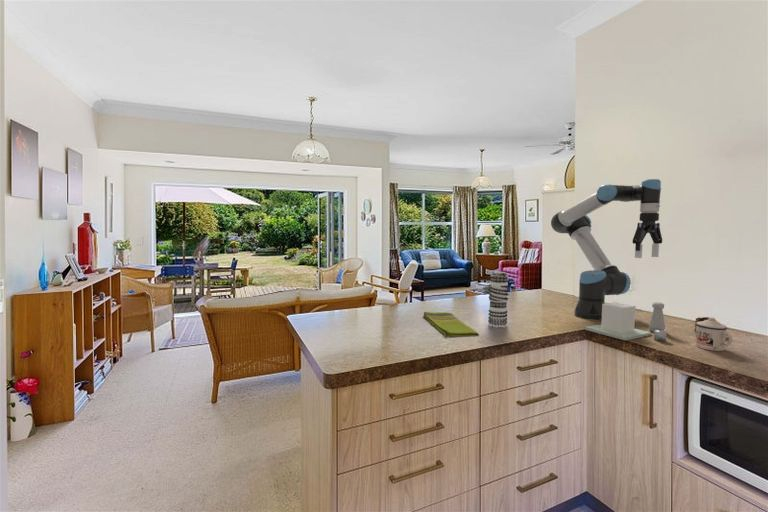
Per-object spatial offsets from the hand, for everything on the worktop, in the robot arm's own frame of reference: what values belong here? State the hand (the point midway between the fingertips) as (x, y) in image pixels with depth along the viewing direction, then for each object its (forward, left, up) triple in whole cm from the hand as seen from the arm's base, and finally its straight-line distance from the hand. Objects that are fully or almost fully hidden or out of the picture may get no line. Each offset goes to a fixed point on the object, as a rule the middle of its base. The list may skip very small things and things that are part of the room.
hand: (646, 257), depth 182 cm
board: (+5, -28, -32) cm, 43 cm away
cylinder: (+20, -24, -32) cm, 45 cm away
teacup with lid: (+35, -17, -32) cm, 50 cm away
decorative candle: (-27, -67, -32) cm, 79 cm away
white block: (+5, -28, -30) cm, 42 cm away
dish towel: (-37, -88, -32) cm, 101 cm away
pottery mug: (+23, +6, -32) cm, 40 cm away
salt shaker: (+12, -11, -32) cm, 36 cm away
